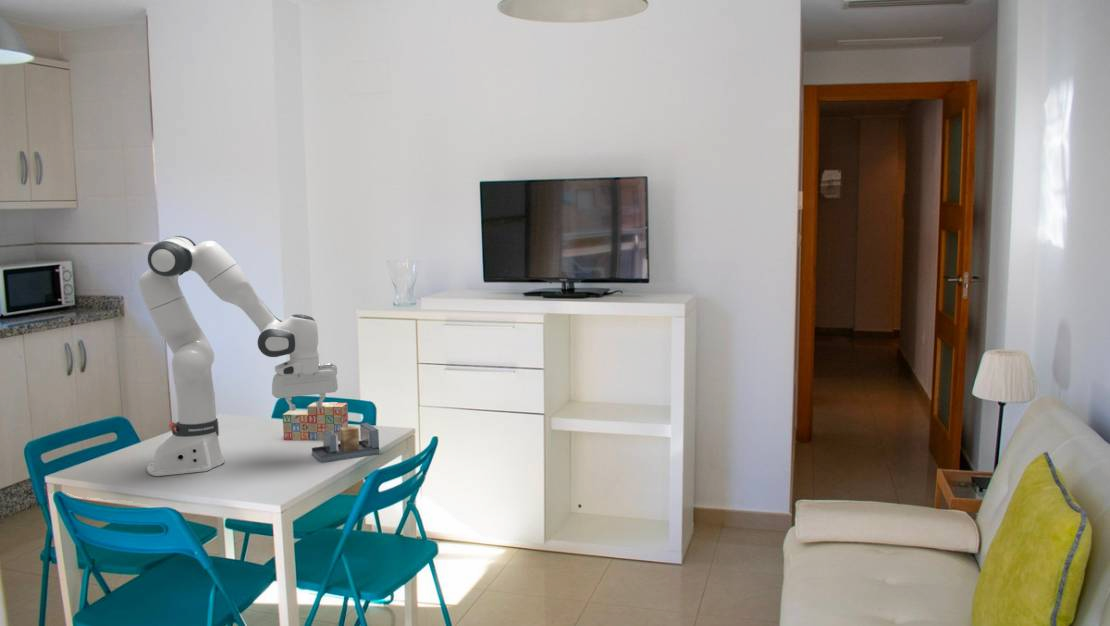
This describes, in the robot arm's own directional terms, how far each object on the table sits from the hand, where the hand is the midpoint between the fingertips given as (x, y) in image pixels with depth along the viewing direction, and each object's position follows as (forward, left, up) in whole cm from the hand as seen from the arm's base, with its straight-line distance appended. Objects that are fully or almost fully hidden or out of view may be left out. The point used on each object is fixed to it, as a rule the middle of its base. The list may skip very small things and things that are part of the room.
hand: (306, 408), depth 289 cm
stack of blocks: (+10, +25, -17) cm, 32 cm away
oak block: (+14, 0, -15) cm, 20 cm away
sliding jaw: (+7, 0, -15) cm, 16 cm away
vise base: (+12, 0, -17) cm, 20 cm away
